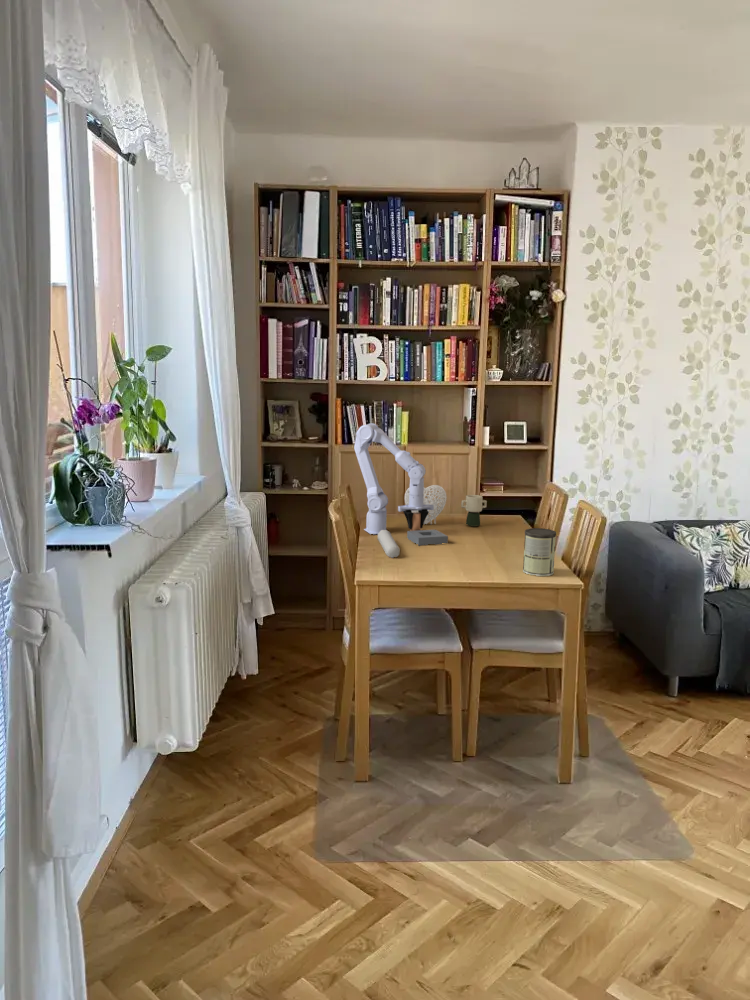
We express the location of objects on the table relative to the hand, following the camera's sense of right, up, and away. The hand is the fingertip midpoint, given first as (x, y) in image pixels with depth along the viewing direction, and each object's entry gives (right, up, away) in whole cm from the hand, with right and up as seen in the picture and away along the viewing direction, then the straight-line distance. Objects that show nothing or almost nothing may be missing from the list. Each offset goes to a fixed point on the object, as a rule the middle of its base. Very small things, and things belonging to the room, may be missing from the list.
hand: (415, 528), depth 307 cm
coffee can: (+39, -13, -50) cm, 64 cm away
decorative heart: (+5, +1, +22) cm, 23 cm away
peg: (0, -3, +1) cm, 3 cm away
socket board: (+4, -5, -8) cm, 10 cm away
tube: (-11, -8, -24) cm, 27 cm away
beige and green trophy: (+26, 0, +21) cm, 33 cm away
